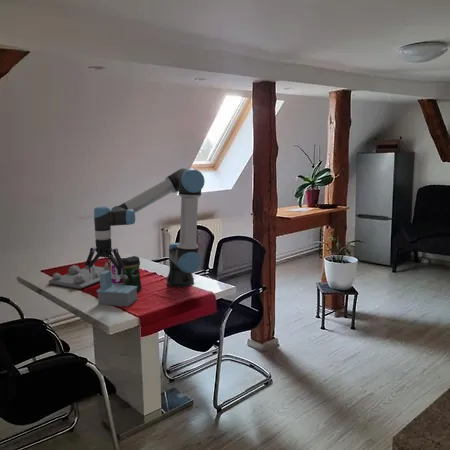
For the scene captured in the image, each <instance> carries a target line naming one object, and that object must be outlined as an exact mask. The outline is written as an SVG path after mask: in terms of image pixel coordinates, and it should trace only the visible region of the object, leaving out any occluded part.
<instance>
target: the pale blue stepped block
mask: <svg viewBox="0 0 450 450" xmlns="http://www.w3.org/2000/svg"><path fill="white" fill-rule="evenodd" d="M99 285H100V287H99V288H98V289H97V290H96V293H98V292H101V293H114V294H127V295H128V294H129V293H131V292H132V291H134V290H135V289H136V288H137V286H132V285H130V286H126V285H112V278H111V271H108V270H105V271H103V272H102V273H100V282H99Z"/></svg>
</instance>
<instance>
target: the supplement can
mask: <svg viewBox="0 0 450 450" xmlns="http://www.w3.org/2000/svg"><path fill="white" fill-rule="evenodd" d="M109 263H110V262H109ZM110 265H111V278H112V285H123V268H121V275H120V281H118V282H116V271H115V269H116V267H115V265H114V264H113V263H112V262H111V263H110Z"/></svg>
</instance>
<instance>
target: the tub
mask: <svg viewBox="0 0 450 450" xmlns="http://www.w3.org/2000/svg"><path fill="white" fill-rule="evenodd" d="M137 301H138V291H137V288H136V289H135V290H134V291H132V292H131V293H129V294H128V295H127V294H114V293H101V292H97V304H98V305H101V306H102V305H105V306H117V307H126V306H127V307H128V306H129V307H131V305H133V304H134V303H135V302H137ZM133 302H134V303H133Z"/></svg>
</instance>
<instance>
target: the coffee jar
mask: <svg viewBox="0 0 450 450" xmlns="http://www.w3.org/2000/svg"><path fill="white" fill-rule="evenodd" d="M139 257H140V256H135V255H132V256H128V257H125V258H124V257H123V258H121V259H122V261H123V263H124V265H125V266H124V267H122V268H123V285H126V286H130V285H132V286H137V292H139V291H141V290H142V289H143V288H142V280H141V275H140V265H141V261H140V258H139Z"/></svg>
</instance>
